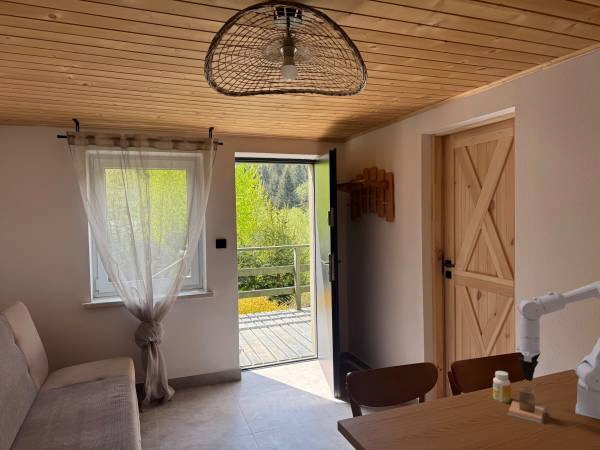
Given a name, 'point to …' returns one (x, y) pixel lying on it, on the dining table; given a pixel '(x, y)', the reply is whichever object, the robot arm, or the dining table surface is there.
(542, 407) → the mat
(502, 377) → the supplement bottle
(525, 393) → the block
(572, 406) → the dining table surface
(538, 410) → the tile
